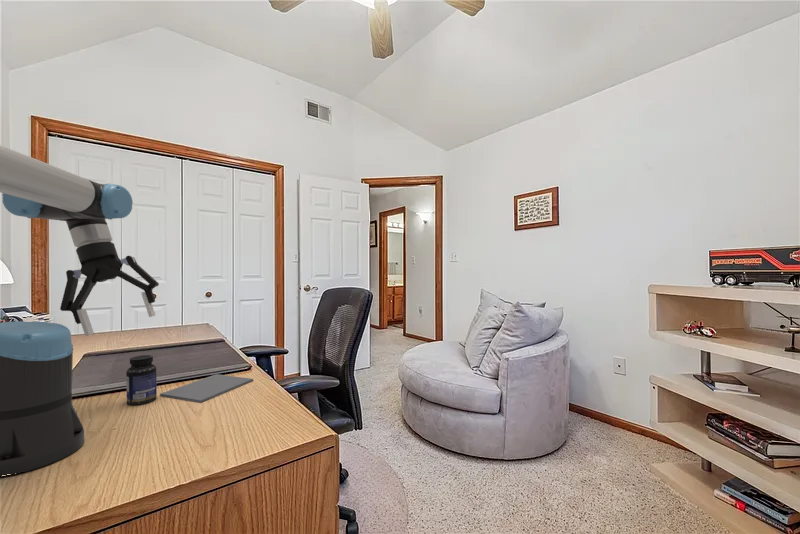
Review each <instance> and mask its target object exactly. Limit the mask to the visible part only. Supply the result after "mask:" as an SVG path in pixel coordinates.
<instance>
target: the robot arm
mask: <svg viewBox="0 0 800 534" xmlns="http://www.w3.org/2000/svg"><path fill="white" fill-rule="evenodd" d="M0 194H1V196H2V205H3V206H4V208H5V209H6V211H8V213H11V215H14V216H17V217H24V218H27V219H43V220H54V221H62V222H66V225H67V228H68V231H69V234H70V236H71V239H72V242H73V247H76V249H75V252H76V255H77V258H78V260H79V263H80V266H81V267H80V268H79V269H74V270H73V269H67V270H66V272H65V273H66V285H65V287H64V292H63V296H62V299H61V303H60V308H59V310H60V311H61V312H71V313H72V315H73V318H74V322H75V323H76V324H77V325H80V324H81V326H82V327H81V328H82V330H83V331H82V332H83V333H84V336H85V337H87V336H92V335H94V334H95V333H94V330H93V327H92V323H91V320H90V318H89V314H88V312H87V309H86V308H84V309H83V307H84V305H85V303H86V301H87V299H88V298H89V296H90V294H91V292H92V290H93V289H94V287H95V286H96V285H97V283H104V282H106V281H109V280H115V279H116V278H117V277H118V278H120V279H123V280H124V281H126V282H128V283H129V284H131V285H134V286H135V287H137V288H139V289H141V290H143V291H142V292H140V294H141V297H142V300H143V303H144V306H145V308H146V312H147V314H148V317H149V318H151V317H155V316H156V312H155V309H154V307H153V303H155V302H156V299H155V295H154V292H153V290H154V289H155V288H156V287H158V286H159V285H160V284H159V282H158V281H157V280H156V279H155V278H153V277H152V275H150V274H149V273H148V272H147V271H145V269H143V268H142V267H141V266H140V265H139V264H138V263H137V261H136V258H135V257H134V256H132V255H127V256H125V257H123V258H122V259H120V257H119V254H118V252H117V248H116V247H115V246H116V245H115V243H113V242H112V241H113V238H112V235H111V231H110V229H109V228H110V227H109V226H108V223H107V221H106V220H110V221H111V220H113V219H114V220H116V219H124V218H127V217H128V216H129V215H130V214H131V212H132V210H133V198H132V195H131V193H130V191H129V190H128V189H127V188H125V186H123V185H121V184H111V183H98V182H96V181H93V180H92V179H91V180H90V179H87V178H85V177H82V176H79V175H78V174H75V173H72V172H70V171H67V170H65V169H62V168H59V167H57V166H54V165H52V164H49V163H47V162H44V161H42V160H39V159H36V158H33V157H31V156H29V155H26V154H24V153H21V152H19V151H16V150H15V149H11V148H8V147H6V146H4V145H1V144H0ZM123 265H126V266H129V267H130V268H131V269H132V270H133V271H135V273H136V274H138V275H139V276H140V277H141V278H142V279H144V281H145V282H147V283H148V284H147V283H144V282H142V281H140V280H139V279H137V278H135V277H133V276H132V275H129V274H128V273H127V272H124V271H122V270H121V269H122V267H123ZM82 275H83V276H85V277H86V278H85V279H84V281H83V284H82V286H81V288H80V290H79V292H78V294H77V295H76V293H77V289H78V283H79V279H80V278H81V276H82ZM75 296H76V297H75ZM72 342H73V341H72V333H71V330H70V329H69V328H68V327H67V326H65V325H63V324H60V323H55V322H48V321H39V320H38V321H35V320H34V321H24V320H23V321H21V320H20V321H19V320H17V321H5V322H3V321H2V322H0V476H2V475H7V474H14V475H16V474H15V473H19V474H21V472H23V473H26V472H29V471H33V470H36V469H39V468H42V467H45V466H48V465H50V464H52V463H55V462H58V461H60V460H62V459H64V458H66V457H68V456H70V455H72V454H73V453H75V452H76V451H79V449H80V448H81V447H82V446H83V445H84V444H85V428H84V426H83V424H82V422H81V420H80V418H79V416H78V414H77V411H76V409H75V407H74V404H73V362H74V361H73V356H74V355H73V354H74V352H73V351H74V345H73V343H72Z"/></svg>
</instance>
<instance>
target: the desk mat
mask: <svg viewBox="0 0 800 534" xmlns="http://www.w3.org/2000/svg"><path fill="white" fill-rule="evenodd" d="M253 381H254V378H250V377H241V376H233V375H225V374H218V373H215V374H213V375H210V376H207V377H205V378H202V379H198V380H195V381H192V382H190V383H187V384H184V385H181V386H179V387H176V388H173V389H170V390H167V391H164V392H162V393H160V394H159V396H160V397H165V398H170V399H175V400H183V401H188V402H194V403H200V404H201V403H203V402H207V401H209V400H211V399H214V398H216V397H218V396H220V395H223V394H226V393H228V392H231V391H232V390H233V391H234V390H235V389H237V388H240V387H242V386H244V385H246V384H249V383H252V382H253Z"/></svg>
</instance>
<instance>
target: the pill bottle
mask: <svg viewBox="0 0 800 534" xmlns="http://www.w3.org/2000/svg"><path fill="white" fill-rule="evenodd" d="M153 361H154V356H153V355H151V354H141V355H136V356H132V357H130V358H129V365H130V367H128V369H127V370H126V373H125V374H126V377H125V378H126V403H127V405H129V406H136V405H137V406H138V405H144V404H149V403H152V402H153V401H155V400H156V399H157V392H158V391H157V384H158V383H157V367H156V365H155V364H153Z"/></svg>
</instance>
